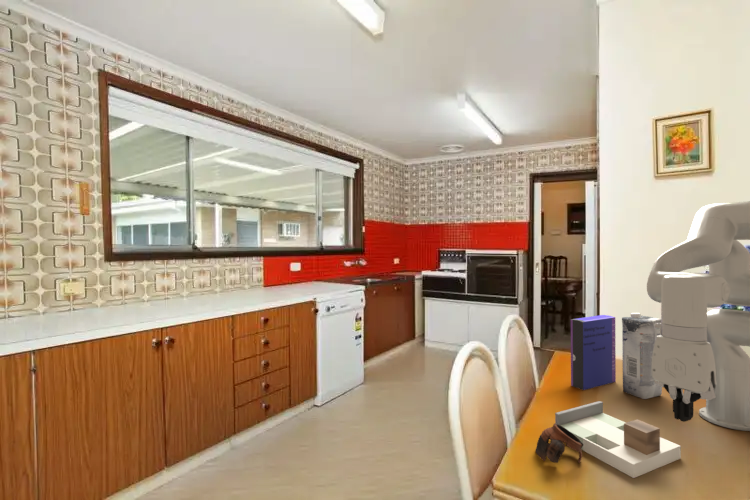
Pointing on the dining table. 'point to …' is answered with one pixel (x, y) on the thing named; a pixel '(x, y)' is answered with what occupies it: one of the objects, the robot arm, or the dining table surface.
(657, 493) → the dining table surface
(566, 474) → the dining table surface
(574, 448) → the brown curved piece
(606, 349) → the blue rectangular box
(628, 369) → the juice carton
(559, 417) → the tray
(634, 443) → the block
